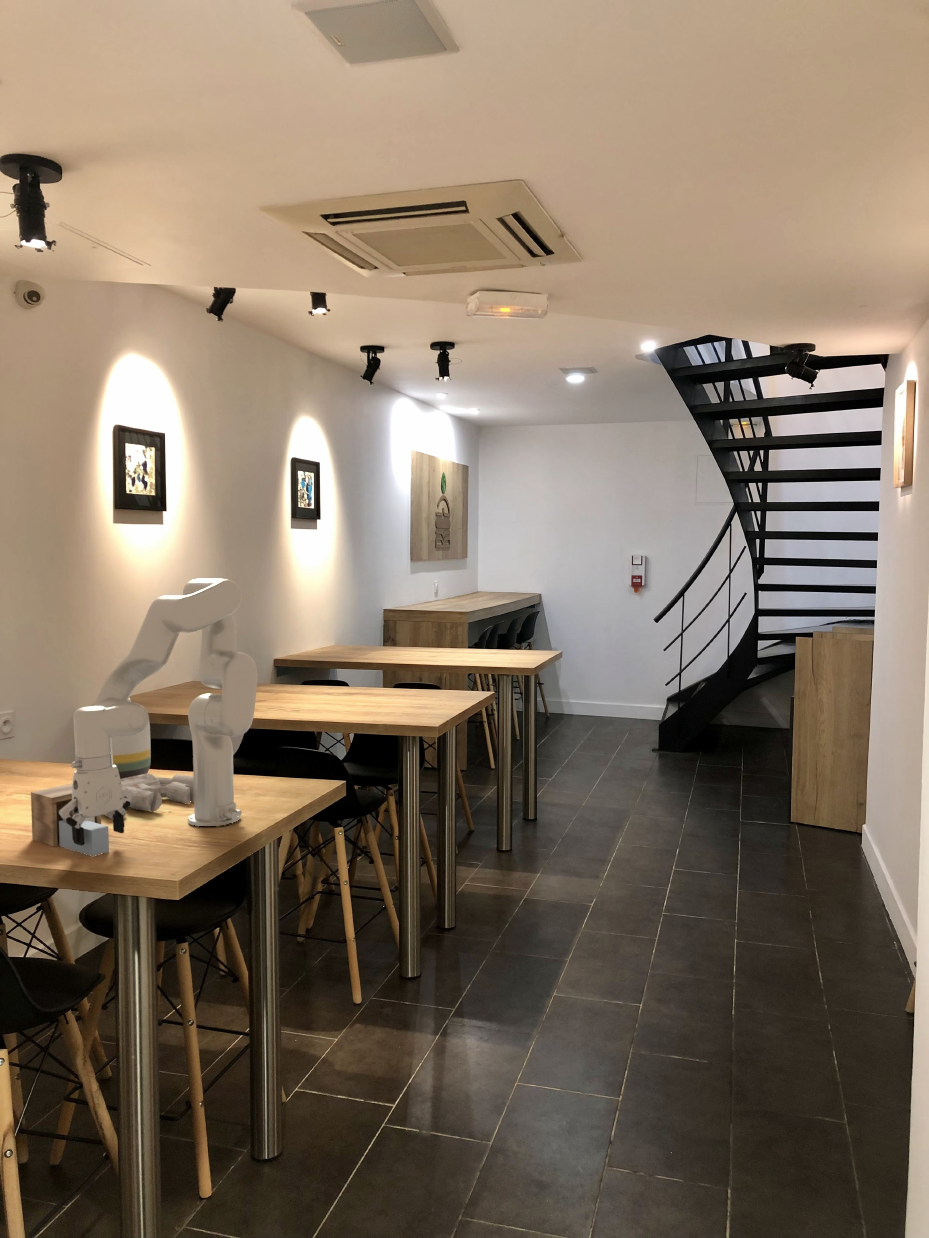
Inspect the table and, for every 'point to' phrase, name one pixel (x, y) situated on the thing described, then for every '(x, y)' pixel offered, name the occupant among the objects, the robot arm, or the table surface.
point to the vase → (132, 753)
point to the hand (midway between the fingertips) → (99, 838)
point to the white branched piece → (157, 791)
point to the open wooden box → (50, 812)
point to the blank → (86, 838)
